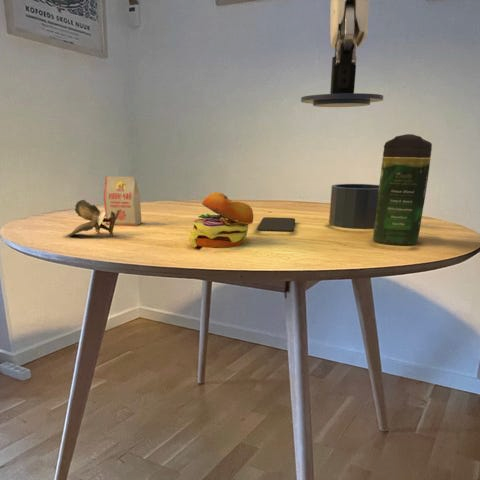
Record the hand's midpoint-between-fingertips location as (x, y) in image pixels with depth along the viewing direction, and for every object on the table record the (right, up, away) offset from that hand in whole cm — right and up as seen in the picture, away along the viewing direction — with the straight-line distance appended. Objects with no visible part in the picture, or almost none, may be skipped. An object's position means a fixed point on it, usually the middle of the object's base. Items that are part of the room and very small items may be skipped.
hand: (341, 94), depth 73 cm
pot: (+9, -15, +29) cm, 33 cm away
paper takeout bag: (-42, -14, +31) cm, 54 cm away
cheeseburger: (-19, -22, +11) cm, 31 cm away
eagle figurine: (-45, -19, +18) cm, 52 cm away
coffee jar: (+12, -21, +12) cm, 28 cm away
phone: (-8, -16, +27) cm, 32 cm away
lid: (0, -1, 0) cm, 1 cm away
